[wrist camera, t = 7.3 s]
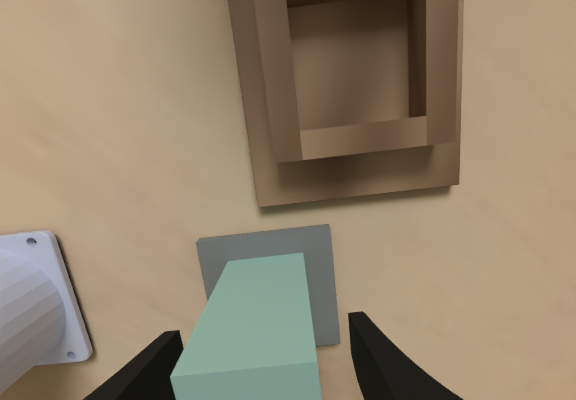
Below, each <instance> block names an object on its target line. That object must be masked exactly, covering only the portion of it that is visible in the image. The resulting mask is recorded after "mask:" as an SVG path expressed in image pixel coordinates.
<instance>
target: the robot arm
mask: <svg viewBox="0 0 576 400" xmlns="http://www.w3.org/2000/svg"><path fill="white" fill-rule="evenodd" d="M34 239H35V240H36V242H37V243H35V241H34ZM348 318H349V331H350V344H351V355H352V359H353V363H354V368H355V372H356V376H357V380H358V383H359V386H360V389H361V391H362V394H363V397H364V400H463V399H462V398H460V397H459V396H457V395H456V394H454V393H453V392H451V391H450V390H448V389H447V388H446V387H444V386H443V385H441V384H440V383H439V382H438V381H436V380H435V379H434V378H432V377H431V376H430V375H428V374H427V373H426V372H425V371H424V370H422V369H421V368H420V367H419V366H418V365H416V364H415V363H414V362H413V361H412V360H411V359H410V358H408V357H407V356H406V355H405V354H404V353H403V352H402V351H401V350H400V349H399V348H398V347H397V346H396V345H395V344H393V343H392V342H391V341H390V340H389V339H388V338H387V337H386V336H385V335H384V334H383V333H382V331H381V330H380V329H379V328H378V327H377V326H376V325H375V324H374V323H373V322H372V321H371V319H370V318H369V317H368V316H367V315H366V314H365V313H364V312H363V311H362V312H353V313H348ZM183 350H184V348H183V344H182V340H181V336H180V331H179V330H175V331H166V332H164V333H163V334H161V335H160V336H159V337H158V338H156V339H155V340H154V341H153V342H152V343H151V344H149V345H148V346H147V347H146V348H145V349H144V350H142V351H141V352H140V353H139V354H138V355H137V356H136V357H134V358H133V359H132V360H131V361H130V362H129V363H127V364H126V365H125V366H124V367H123V368H122V369H120V370H119V371H118V372H117V373H115V374H114V375H113V376H112V377H111V378H109V379H108V380H107V381H106V382H104V383H103V384H102V385H101V386H99V387H98V388H97V389H96V390H94V391H93V392H92V393H91V394H89V395H88V396H87V397H85V398H84V399H83V400H176V397H175V394H174V390H173V386H172V383H171V379H170V376H171V374H172V372H173V370H174V368H175V366H176V364H177V362H178V360H179V358H180V356H181V354H182V352H183ZM92 353H93V349H92V346H91V343H90V340H89V337H88V334H87V331H86V328H85V325H84V322H83V319H82V316H81V313H80V310H79V307H78V304H77V301H76V297H75V294H74V291H73V288H72V285H71V282H70V279H69V276H68V273H67V270H66V267H65V264H64V261H63V258H62V255H61V252H60V249H59V246H58V243H57V240H56V237H55V235H54V234H53V233H52V232H50V231H48V230H40V231H32V232H23V233H14V234H5V235H0V395H1V394H2V393H3V392H5V391H6V390H7V389H8V388H9V387H10V386H11V385H13V384H14V383H15V382H16V381H17V380H18V379H19V378H20V377H22V376H23V375H24V374H25V373H26V372H27V371H28V370H30V369H31V368H32V367H33V366H40V365H50V364H60V363H70V362H80V361H85V360H87V359H88V358H89V357H90V356H91V355H92Z"/></svg>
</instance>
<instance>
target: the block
mask: <svg viewBox="0 0 576 400" xmlns="http://www.w3.org/2000/svg"><path fill="white" fill-rule="evenodd" d="M170 379H171V383H172V386H173V390H174V394H175V397H176V400H322V395H321V387H320V378H319V370H318V362H317V354H316V347H315V339H314V331H313V324H312V316H311V308H310V301H309V293H308V285H307V278H306V270H305V262H304V255H303V253H295V254H286V255H277V256H269V257H260V258H252V259H243V260H235V261H228V262H227V264H226V266H225V268H224V270H223V272H222V274H221V276H220V278H219V280H218V282H217V284H216V286H215V288H214V290H213V292H212V294H211V296H210V298H209V300H208V302H207V304H206V306H205V308H204V310H203V312H202V314H201V316H200V318H199V320H198V322H197V324H196V326H195V328H194V330H193V332H192V334H191V336H190V338H189V340H188V342H187V344H186V346H185V348H184V350H183V352H182V354H181V356H180V358H179V360H178V362H177V364H176V366H175V368H174V370H173V372H172V374H171V376H170Z"/></svg>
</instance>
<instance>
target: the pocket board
mask: <svg viewBox="0 0 576 400" xmlns="http://www.w3.org/2000/svg"><path fill="white" fill-rule="evenodd" d="M228 3H229V10H230V17H231V23H232V30H233V37H234V44H235V51H236V58H237V64H238V71H239V78H240V85H241V92H242V98H243V105H244V112H245V119H246V126H247V133H248V139H249V146H250V153H251V160H252V167H253V174H254V180H255V187H256V194H257V201H258V207H265V206H274V205H283V204H291V203H300V202H309V201H318V200H326V199H335V198H344V197H353V196H362V195H370V194H379V193H388V192H397V191H406V190H414V189H423V188H432V187H441V186H450V185H458V184H459V171H460V131H461V90H462V50H463V10H464V0H228Z"/></svg>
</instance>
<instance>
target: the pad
mask: <svg viewBox="0 0 576 400" xmlns="http://www.w3.org/2000/svg"><path fill="white" fill-rule="evenodd" d="M196 246H197V251H198V255H199V260H200V265H201V270H202V275H203V280H204V285H205V289H206V294H207V299H208V300H209V298H210V296H211V294H212V292H213V290H214V288H215V286H216V284H217V282H218V280H219V278H220V276H221V274H222V272H223V270H224V268H225V266H226V264H227V262H228V261H235V260H243V259H252V258H260V257H269V256H277V255H286V254H295V253H303V255H304V262H305V270H306V278H307V285H308V293H309V301H310V308H311V316H312V324H313V331H314V339H315V346H324V345H334V344H340V335H339V324H338V312H337V301H336V289H335V278H334V266H333V254H332V243H331V231H330V226H329V224H325V225H316V226H307V227H298V228H289V229H280V230H271V231H262V232H253V233H244V234H235V235H226V236H217V237H208V238H200V239H199V240H198V241H197V242H196Z"/></svg>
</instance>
